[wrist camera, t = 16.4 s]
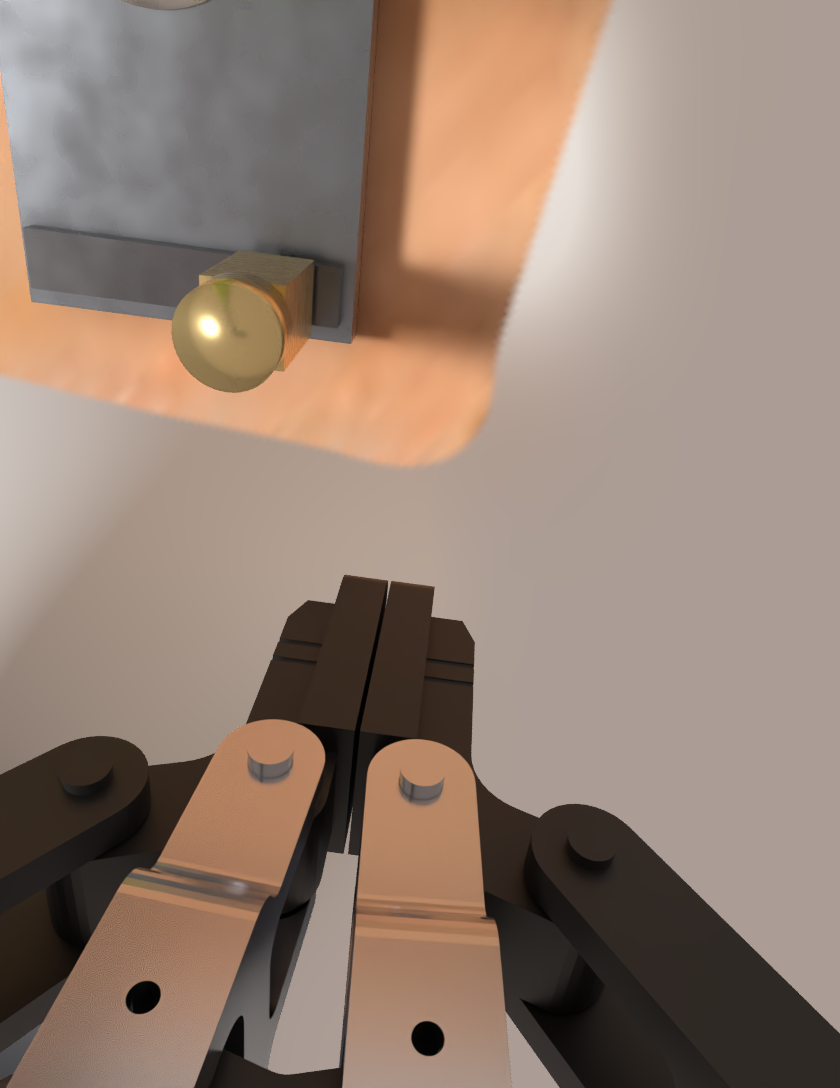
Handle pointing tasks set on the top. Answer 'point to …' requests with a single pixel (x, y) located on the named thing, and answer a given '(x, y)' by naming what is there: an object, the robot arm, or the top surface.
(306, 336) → the press lever
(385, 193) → the top surface
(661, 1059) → the robot arm
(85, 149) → the plate
